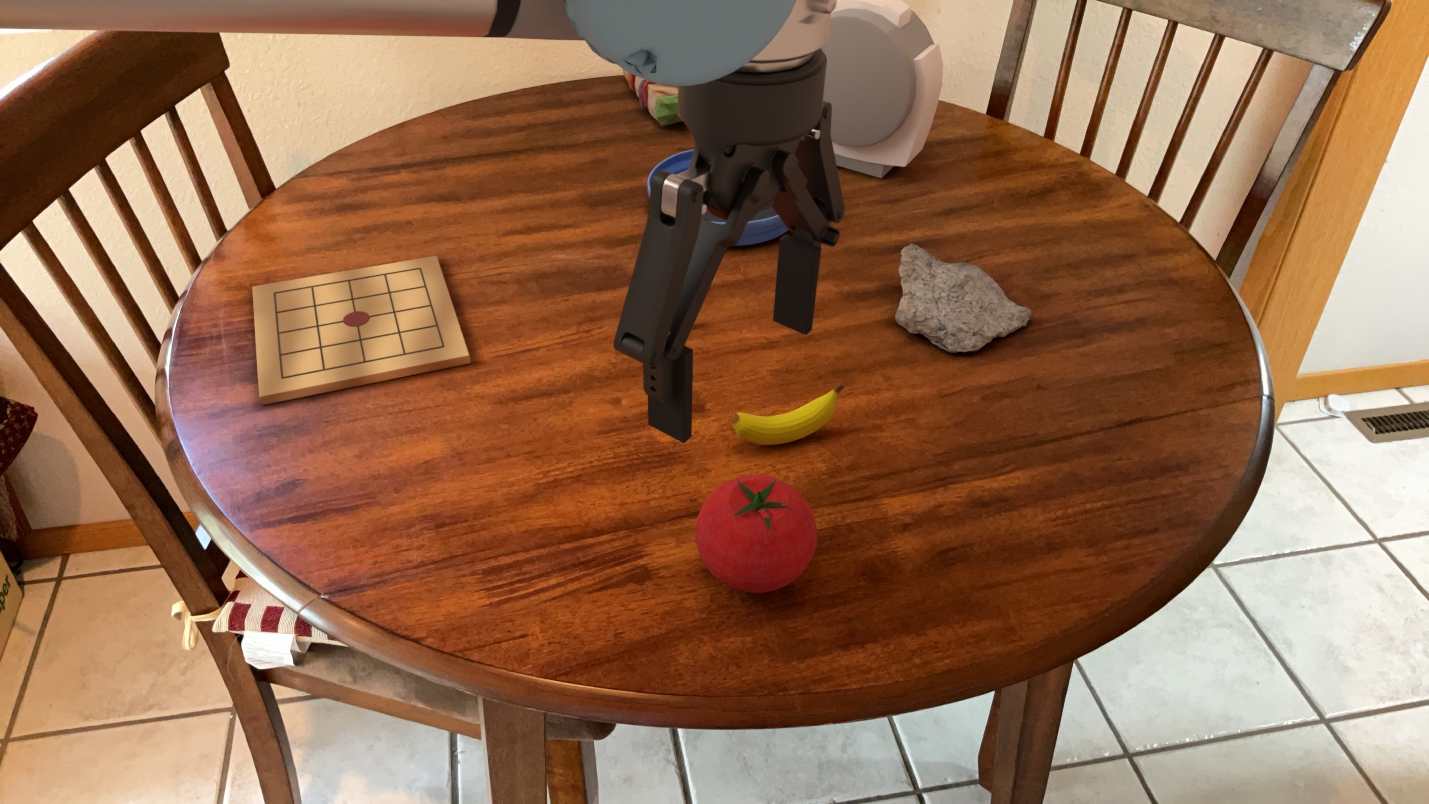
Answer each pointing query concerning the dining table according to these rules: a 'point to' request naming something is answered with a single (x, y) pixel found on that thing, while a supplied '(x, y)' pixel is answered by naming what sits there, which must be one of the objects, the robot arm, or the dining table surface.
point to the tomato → (756, 533)
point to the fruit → (786, 421)
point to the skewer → (656, 98)
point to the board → (354, 329)
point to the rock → (954, 303)
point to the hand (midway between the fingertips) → (735, 375)
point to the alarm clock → (880, 84)
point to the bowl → (755, 230)
